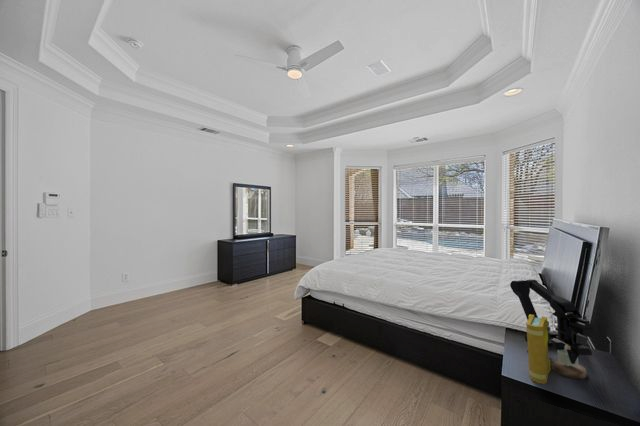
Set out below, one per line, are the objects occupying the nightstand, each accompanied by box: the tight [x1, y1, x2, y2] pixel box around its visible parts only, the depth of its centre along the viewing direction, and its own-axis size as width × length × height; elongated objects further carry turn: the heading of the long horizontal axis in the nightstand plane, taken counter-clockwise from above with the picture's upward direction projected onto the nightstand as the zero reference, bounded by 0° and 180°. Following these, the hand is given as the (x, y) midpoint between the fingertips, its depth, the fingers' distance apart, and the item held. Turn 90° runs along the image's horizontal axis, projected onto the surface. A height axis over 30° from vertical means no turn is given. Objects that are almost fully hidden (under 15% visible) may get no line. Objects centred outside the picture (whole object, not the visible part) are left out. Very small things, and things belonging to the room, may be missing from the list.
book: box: [526, 314, 552, 385], centre depth 122 cm, size 17×7×25 cm, turn 134°
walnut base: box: [550, 358, 587, 380], centre depth 123 cm, size 12×12×2 cm
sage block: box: [556, 350, 579, 366], centre depth 123 cm, size 5×5×5 cm
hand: (567, 360), depth 123 cm, fingers closed on sage block, 5 cm apart
